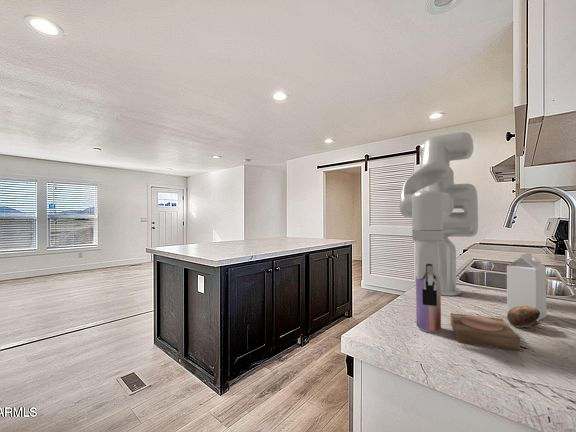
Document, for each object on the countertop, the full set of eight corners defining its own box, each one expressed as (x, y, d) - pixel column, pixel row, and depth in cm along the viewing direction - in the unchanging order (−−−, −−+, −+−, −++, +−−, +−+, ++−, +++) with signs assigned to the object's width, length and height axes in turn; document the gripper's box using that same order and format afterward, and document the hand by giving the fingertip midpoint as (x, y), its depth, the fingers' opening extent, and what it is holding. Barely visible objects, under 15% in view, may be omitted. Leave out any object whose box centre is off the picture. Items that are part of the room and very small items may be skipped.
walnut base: (450, 323, 77) (450, 311, 77) (502, 330, 72) (502, 317, 72) (458, 342, 66) (458, 327, 66) (520, 351, 61) (520, 335, 61)
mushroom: (554, 317, 72) (535, 297, 74) (545, 335, 68) (525, 314, 70) (524, 322, 79) (507, 303, 80) (514, 339, 75) (496, 318, 76)
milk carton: (506, 314, 83) (506, 252, 83) (517, 309, 87) (516, 250, 87) (536, 322, 77) (536, 255, 77) (546, 317, 81) (546, 253, 80)
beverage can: (415, 330, 72) (415, 275, 72) (416, 322, 78) (416, 270, 78) (441, 335, 70) (440, 277, 70) (440, 326, 75) (440, 272, 75)
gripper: (411, 234, 83) (412, 290, 83) (413, 238, 67) (413, 307, 67) (439, 235, 80) (439, 292, 80) (448, 239, 64) (448, 311, 64)
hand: (428, 299), depth 73 cm, fingers open, 9 cm apart
